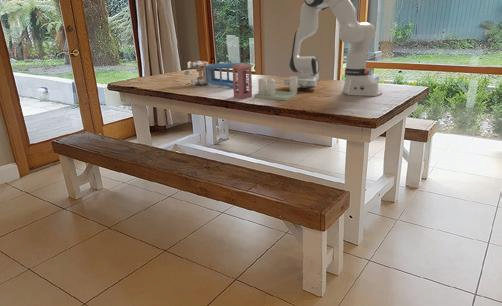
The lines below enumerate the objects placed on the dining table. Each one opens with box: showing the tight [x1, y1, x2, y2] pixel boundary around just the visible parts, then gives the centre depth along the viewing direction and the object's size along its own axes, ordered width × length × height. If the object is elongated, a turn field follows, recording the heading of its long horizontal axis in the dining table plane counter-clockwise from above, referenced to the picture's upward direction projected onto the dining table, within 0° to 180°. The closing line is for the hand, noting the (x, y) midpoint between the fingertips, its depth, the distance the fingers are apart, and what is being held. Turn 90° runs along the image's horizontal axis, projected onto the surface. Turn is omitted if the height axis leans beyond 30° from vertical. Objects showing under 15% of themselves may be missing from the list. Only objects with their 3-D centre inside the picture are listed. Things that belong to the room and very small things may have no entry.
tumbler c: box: [289, 75, 298, 94], centre depth 230 cm, size 5×5×10 cm
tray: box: [253, 90, 297, 101], centre depth 222 cm, size 20×14×2 cm
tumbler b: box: [257, 78, 267, 96], centre depth 222 cm, size 5×5×10 cm
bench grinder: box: [184, 60, 249, 90], centre depth 266 cm, size 17×17×45 cm
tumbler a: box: [266, 78, 276, 96], centre depth 219 cm, size 5×5×10 cm
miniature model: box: [231, 62, 253, 100], centre depth 221 cm, size 9×9×20 cm
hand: (294, 84), depth 231 cm, fingers open, 8 cm apart
